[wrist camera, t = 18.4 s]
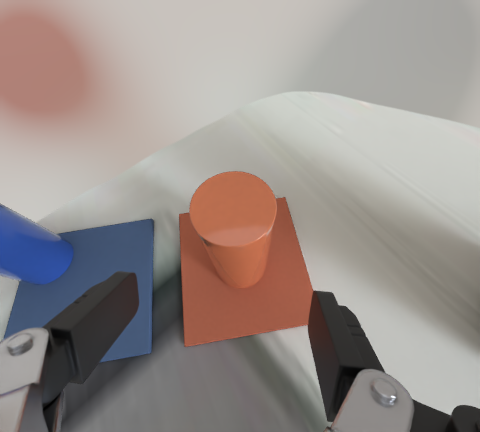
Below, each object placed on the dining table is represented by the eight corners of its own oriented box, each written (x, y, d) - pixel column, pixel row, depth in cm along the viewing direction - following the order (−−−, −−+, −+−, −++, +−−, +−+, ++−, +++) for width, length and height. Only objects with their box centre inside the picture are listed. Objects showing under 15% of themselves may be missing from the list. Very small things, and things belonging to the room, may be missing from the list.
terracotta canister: (260, 235, 24) (266, 165, 15) (271, 283, 22) (286, 238, 12) (213, 243, 24) (186, 177, 14) (218, 292, 22) (191, 254, 12)
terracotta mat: (284, 199, 27) (285, 196, 26) (320, 322, 21) (322, 321, 20) (180, 216, 26) (179, 214, 26) (186, 346, 20) (184, 346, 20)
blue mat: (153, 220, 26) (151, 218, 26) (151, 353, 20) (148, 353, 20) (36, 239, 26) (31, 237, 25) (-3, 380, 20) (-10, 381, 19)
